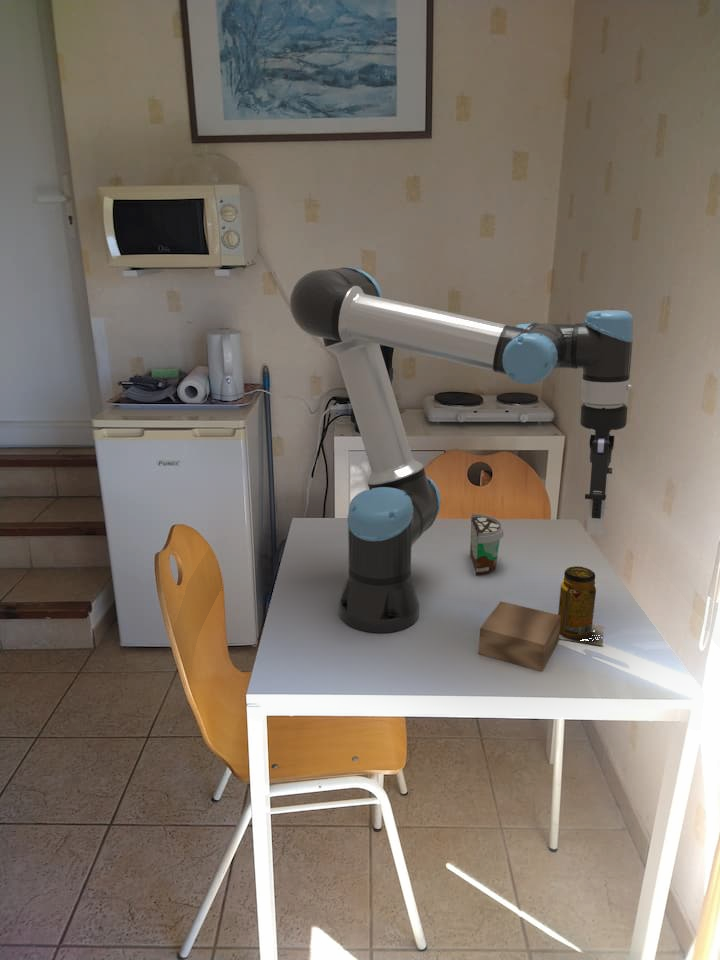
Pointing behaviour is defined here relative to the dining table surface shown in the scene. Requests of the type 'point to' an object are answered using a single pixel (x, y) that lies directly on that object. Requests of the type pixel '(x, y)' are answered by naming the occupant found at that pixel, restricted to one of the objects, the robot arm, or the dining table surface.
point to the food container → (484, 543)
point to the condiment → (578, 606)
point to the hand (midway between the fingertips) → (596, 520)
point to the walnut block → (520, 635)
